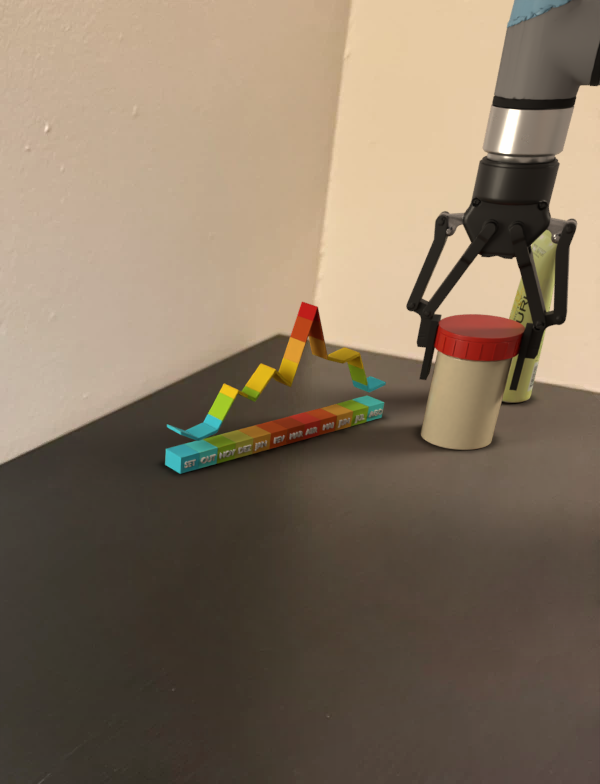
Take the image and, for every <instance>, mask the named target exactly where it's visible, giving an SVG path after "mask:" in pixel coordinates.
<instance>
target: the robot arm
mask: <svg viewBox="0 0 600 784" xmlns="http://www.w3.org/2000/svg"><path fill="white" fill-rule="evenodd" d="M499 61H500V62H499V67H498V72H497V76H496V81H495V87H494V91H493V96H492V97H493V98H492V101H491V104H490V109H489V113H488V119H487V123H486V129H485V134H484V138H483V143H482V150H483V152H485V153H487V154H486V155H484V156H483V157H482V159H480V160H479V163H478V167H477V172H476V176H475V181H474V187H473V191H472V196H471V201H470V204H469V206H468V207H467V208H466V210H465V211H464V212H455V213H453V212H452V213H450V212H449V211H448V210H444V211H441V212H440V213H439V215H438V216H437V217H436V219H435V221H434V231H433V240H432V242H431V246H430V248H429V250H428V252H427V255H426V256H425V260H424V262H423V265H422V266H421V268H420V271H419V274H418V276H417V278H416V281H415V283H414V286H413V288H412V290H411V293H410V295H409V298H408V299H407V302H406V307H405V308H406V310H407V311H409V312H413V313H416V314H417V315H418V316H419V317H420V323H419V328H418V333H417V338H416V346H417V348H425V349H424V354H423V359H422V363H421V369H420V375H419V380H421V381H427V379H428V378H429V375H430V374H431V370H432V369H431V368H432V364H433V358H434V354H435V350H436V348H435V347H434V342H435V337H436V332H437V328H438V323H439V321H440V320H442V314H438V313H436V312H437V311H438V309H439V308H440V307H441V305H442V304H443V303H444V301H445V300H446V299H447V297H448V296H449V294H450V293H451V292H452V290H453V289H454V287H455V286H456V285H457V283H458V282H459V281H460V279H461V278H462V277H463V276H464V274H465V273H466V271H467V270H468V268H469V267H470V266H471V265H472V263H473V262H474V261H475V259H476V258H477V257H478V255H480V257H481V258H494V257H499V258H502V259H504V260H513V259H516V263H517V267H518V270H519V273H520V277H522V281H523V285H524V289H525V293H526V297H527V301H528V305H529V309H530V314H531V318H532V322H533V323H527V324H526V327H525V331H524V335H523V338H522V342H521V346H520V350H519V354H518V358H517V362H516V366H515V369H514V373H513V377H512V381H511V385H510V389H509V390H515V391H516V390H517V387H518V383H519V379H520V375H521V372H522V368H523V364H524V360H525V358H529V359H535V357H536V356H537V355H538V351H539V348H540V344H541V340H542V336H543V333H544V330H545V329H546V330H547V328H549V327H552V326H561V325H563V324H564V323H565V322H566V321H567V315H568V305H569V304H568V302H569V301H568V299H569V279H570V278H569V275H570V250H571V244H572V241H573V239H574V237H575V234H576V232H577V227H578V221H577V220H576V218H569V219H567V220H566V219H561V218H556V217H552V215H551V212H550V204H551V200H552V196H553V192H554V188H555V184H556V181H557V176H558V173H559V168H560V165H561V163H560V162H559V159H558V158H557V157H556V156H558V155H559V154H561V153H562V152H564V148H565V145H566V140H567V136H568V132H569V129H570V124H571V121H572V117H573V113H574V109H575V105H576V101H577V95H578V92H579V89H580V86H589V87H599V86H600V0H513V4H512V7H511V12H510V16H509V20H508V22H507V23H506V30H505V36H504V41H503V47H502V51H501V57H500V60H499ZM459 226H463V228H464V231H465V233H466V235H467V237H468V239H469V241H470V244H469V245H468V247H466V249H465V250H464V252H463V253H462V255H461V256H460V258H459V259H458V260H457V262H456V263H455V264H454V266H453V267H452V269H451V270H450V272H449V273H448V274H447V275H446V277H445V278H444V280H443V281H442V282H441V283H440V285H439V287H438V288H437V289H436V291H435V292H434V293H433V295H432V296H431V298H430V299H429V300H426V299H424V298H423V297H424V295H425V292H426V290H427V288H428V285H429V283H430V281H431V280H432V279H431V278H432V276H433V275H434V271H435V269H436V267H437V265H438V263H439V260H440V258H441V255H442V253H443V251H444V248H445V247H446V243H447V241H448V238H449V237H452V236H453V235H454V234H456V231H457V228H458V227H459ZM546 230H549V231H550V232H551V241H552V242H553V243H555V244H557V248H556V254H555V282H554V289H553V310H550V311H548V312H546V308H545V304H544V300H543V296H542V292H541V287H540V283H539V279H538V275H537V271H536V267H535V263H534V258H533V252H532V248H531V246H532V243H533V242H534V241H535V240H537V239H538V238H539V237H540V236H541V235H542V234H543V233H544V232H545V231H546Z"/></svg>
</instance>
